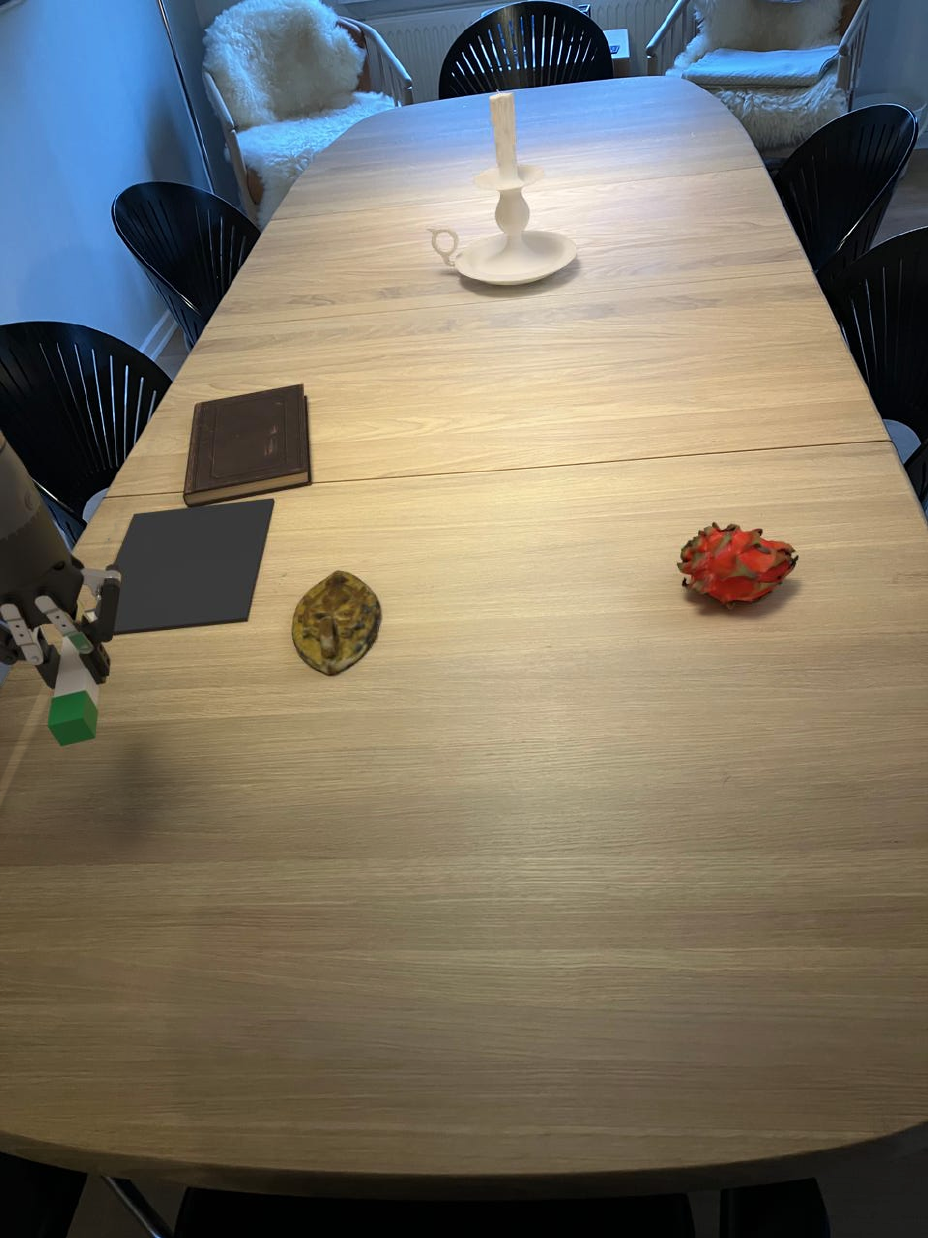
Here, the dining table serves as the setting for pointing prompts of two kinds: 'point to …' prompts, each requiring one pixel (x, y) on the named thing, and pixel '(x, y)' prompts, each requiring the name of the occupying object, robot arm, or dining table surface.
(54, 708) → the marker
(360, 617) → the seal
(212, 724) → the dining table surface
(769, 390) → the dining table surface
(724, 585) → the dragon fruit
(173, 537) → the mat
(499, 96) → the candlestick
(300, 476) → the hardcover book
